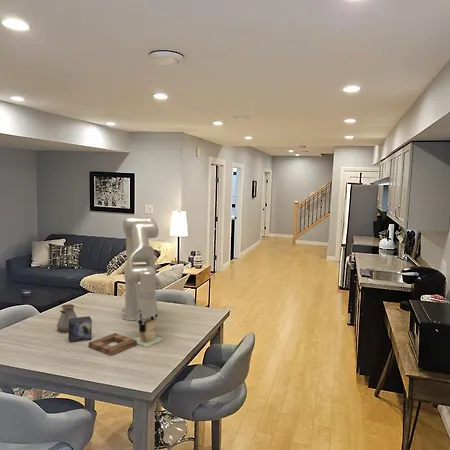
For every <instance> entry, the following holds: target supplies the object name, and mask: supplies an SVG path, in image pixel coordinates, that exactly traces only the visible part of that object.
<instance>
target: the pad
mask: <svg viewBox="0 0 450 450" xmlns="http://www.w3.org/2000/svg"><path fill="white" fill-rule="evenodd" d="M134 339H135V340H137V345H138V346H142V347H145V348H149V347H151V346H154V345H156V344H159V343H161V342H163V341H165V338H162V337H159V336H156V335H155V340H152V341H150V342H144V341H141V340H139V336H138V337H135V338H134Z"/></svg>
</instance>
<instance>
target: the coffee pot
mask: <svg viewBox="0 0 450 450" xmlns="http://www.w3.org/2000/svg"><path fill="white" fill-rule="evenodd" d="M75 306H76V305H75V304H68V303H67V304H63V305H61V308H62V310H60V311H59V312H60V313H61V314H59V312H58V315H60V317H59V319H58V320H57V321H58V322H57V323H56V327H57V329H58V330H60V331H61V332H63V333H66V332H67V333H69V318H78V316H77V314H76V312H75V309H74V308H75Z"/></svg>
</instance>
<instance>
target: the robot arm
mask: <svg viewBox="0 0 450 450" xmlns="http://www.w3.org/2000/svg"><path fill="white" fill-rule="evenodd" d="M122 229H123V232H124V236H125V238H126V239H125V240H126V247H125V249H126V251H125V252H126V260H127V261H126V265H125V267H124V269H123V275H124V277H123V278H124V283H125V287H124V289H125V294H124V295H125V301H124V303H125V304H124V305H125V307H123V309H121V312H122V313H123V315H122V319H123V320H124V321H136V322H137V323H138V324H139V326H138V329H139V331H140V332H143V333H144V332H145V325H144V322H145V319H147V318H149V319H153V320H155V321H156V320H157V317H158V315H159V312H160V311H159V309H158V306H157V297H156V293H157V291H156V277H157V272H156V270H155V250H154V248H153V246H152V245H150V242H149V239H155V238H158V237H159V233H160V232H159V227H158V224H157V222H156V221H155V220H154V218H153V217H150V216H130V217H125V218H124V219H123V220H122ZM133 263H135V264H133ZM137 263H138V264H137ZM141 320H142V321H141ZM139 331H138V332H139Z"/></svg>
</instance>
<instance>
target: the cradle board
mask: <svg viewBox="0 0 450 450" xmlns="http://www.w3.org/2000/svg"><path fill="white" fill-rule="evenodd" d="M114 342H115V343H116V344H114V345H110V344H111V343H114ZM137 345H138V344H137V340H135V338H132V337H129V336H126V335H123V334H120V333H116V332H113V333H111V334H107V335H105V336H102V337H99V338H97V339H94V340H90V341H88V348H89V347H90V349H93V350H95V351H97V352H100V353H103V354H105V355H108V356H111V357H112V356H114V355H117V354H119V353H121V352H124V351H126V350H129V349H131V348H133V347H134V348H135V347H136V346H137Z"/></svg>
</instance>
